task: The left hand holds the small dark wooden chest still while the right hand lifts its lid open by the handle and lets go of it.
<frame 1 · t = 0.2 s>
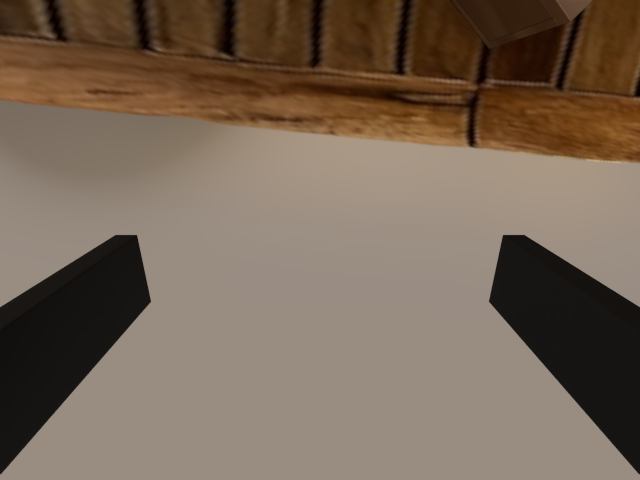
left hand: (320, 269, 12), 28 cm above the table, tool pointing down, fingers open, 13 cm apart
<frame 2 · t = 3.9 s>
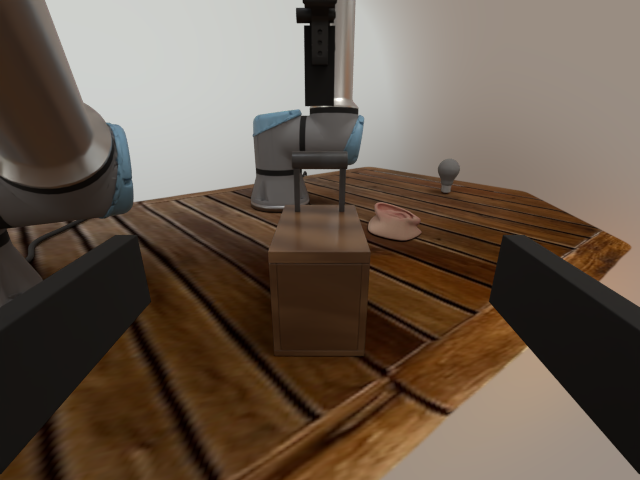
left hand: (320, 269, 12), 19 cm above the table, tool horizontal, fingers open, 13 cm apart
chest: (319, 314, 43), on the table
light bulb: (445, 193, 102), on the table
anatomical model: (393, 229, 72), on the table
lid: (319, 196, 37), point 15 cm above the table, hinge at 0.0°
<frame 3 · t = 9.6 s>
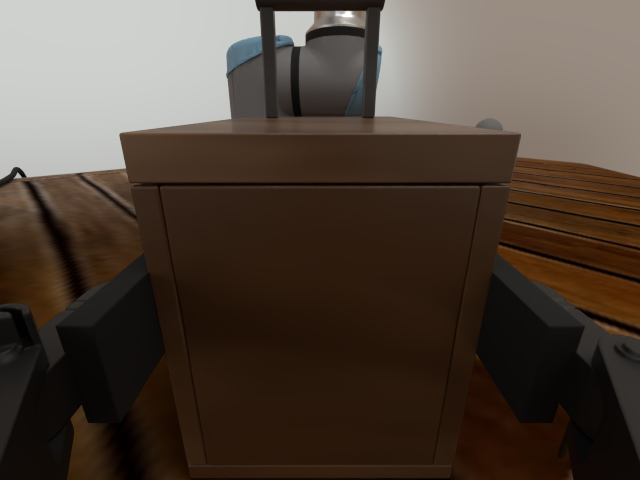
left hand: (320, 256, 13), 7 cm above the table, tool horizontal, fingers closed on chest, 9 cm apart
chest: (320, 342, 19), on the table, touching left hand
light bulb: (482, 165, 79), on the table
lid: (320, 41, 14), point 15 cm above the table, hinge at 0.0°
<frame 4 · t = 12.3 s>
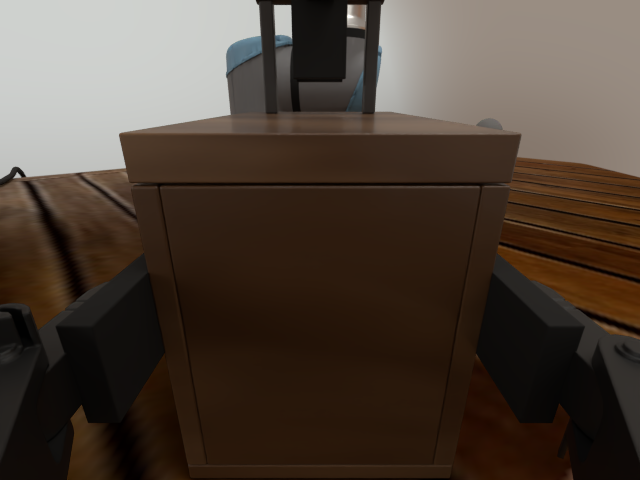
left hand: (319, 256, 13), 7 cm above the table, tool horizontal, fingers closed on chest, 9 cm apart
chest: (320, 342, 19), on the table, touching left hand
light bulb: (481, 165, 79), on the table
lid: (320, 37, 14), point 15 cm above the table, hinge at 1.1°, touching right hand
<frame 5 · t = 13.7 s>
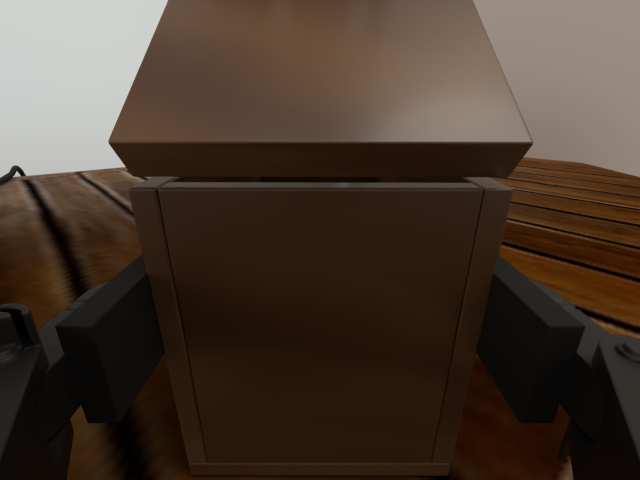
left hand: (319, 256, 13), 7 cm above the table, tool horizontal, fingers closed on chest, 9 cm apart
chest: (319, 338, 19), on the table, touching left hand
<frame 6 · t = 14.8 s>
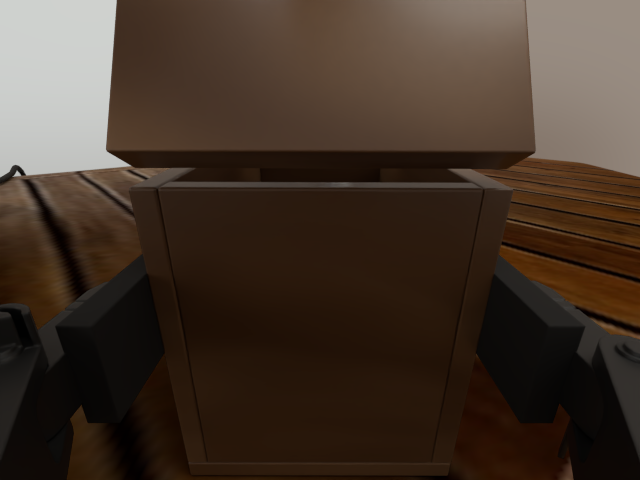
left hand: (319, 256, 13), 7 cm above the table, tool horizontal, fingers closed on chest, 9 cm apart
chest: (319, 338, 19), on the table, touching left hand
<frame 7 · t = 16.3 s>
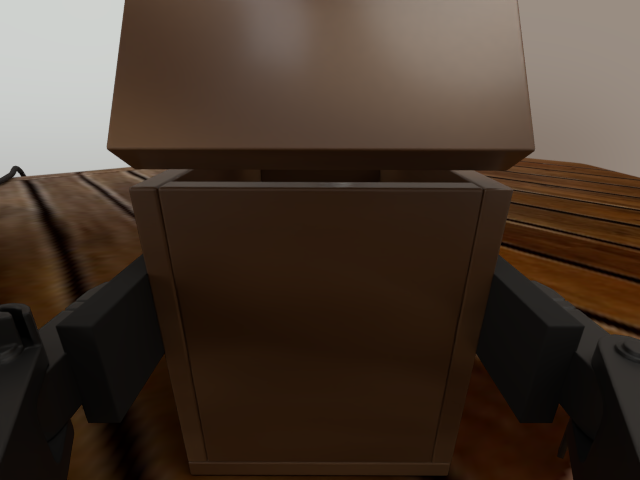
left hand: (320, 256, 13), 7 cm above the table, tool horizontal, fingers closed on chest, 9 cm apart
chest: (319, 338, 19), on the table, touching left hand
when the left hand's fingers open (7 cm above the table, at t = 19.1 s): chest stays where it is, on the table.
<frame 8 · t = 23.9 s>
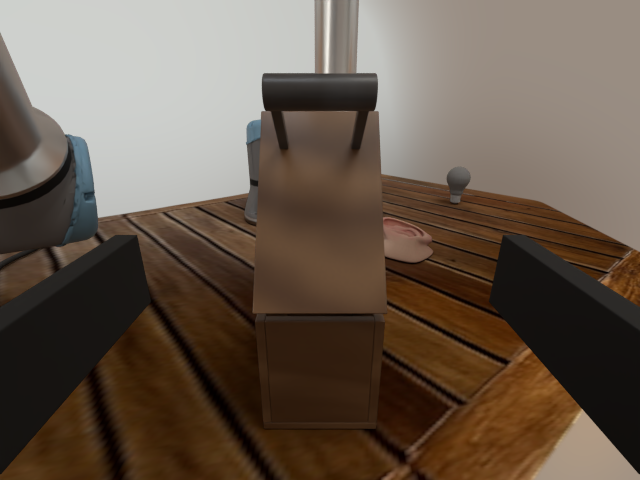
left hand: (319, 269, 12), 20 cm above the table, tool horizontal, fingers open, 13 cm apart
chest: (319, 364, 35), on the table
light bulb: (454, 203, 95), on the table
anatomical model: (401, 248, 65), on the table
lid: (319, 190, 22), point 20 cm above the table, hinge at 55.8°
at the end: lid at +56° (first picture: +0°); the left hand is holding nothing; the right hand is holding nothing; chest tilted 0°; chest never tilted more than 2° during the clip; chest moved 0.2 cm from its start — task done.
